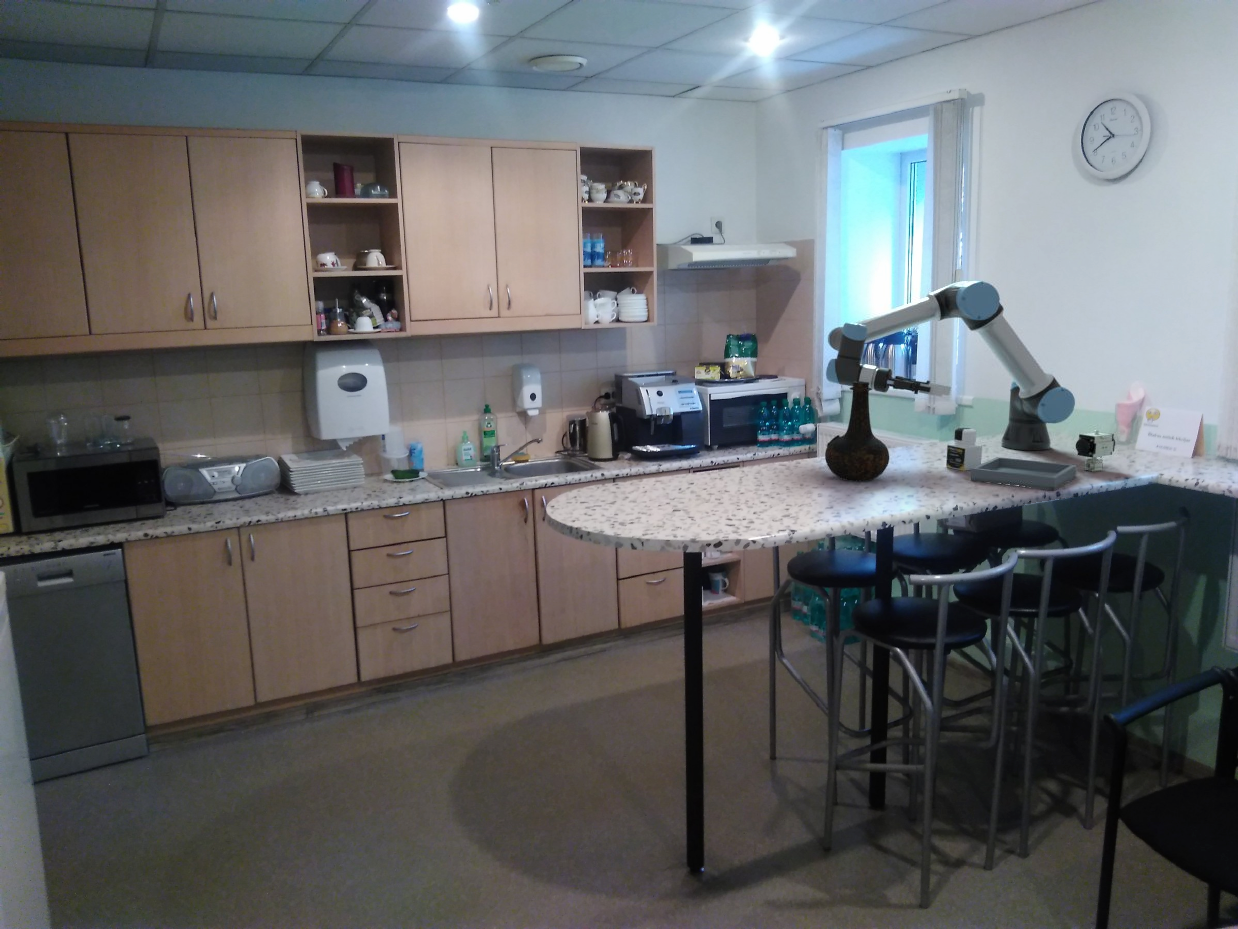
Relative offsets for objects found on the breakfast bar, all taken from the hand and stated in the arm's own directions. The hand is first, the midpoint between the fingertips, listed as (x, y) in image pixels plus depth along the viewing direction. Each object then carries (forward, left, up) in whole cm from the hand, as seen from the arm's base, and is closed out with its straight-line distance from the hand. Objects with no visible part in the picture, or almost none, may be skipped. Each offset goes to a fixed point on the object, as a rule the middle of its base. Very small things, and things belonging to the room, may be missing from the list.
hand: (946, 391), depth 275 cm
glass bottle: (+33, -13, -23) cm, 42 cm away
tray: (+6, +25, -23) cm, 35 cm away
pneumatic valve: (-18, +38, -23) cm, 48 cm away
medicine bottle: (0, +6, -23) cm, 24 cm away
